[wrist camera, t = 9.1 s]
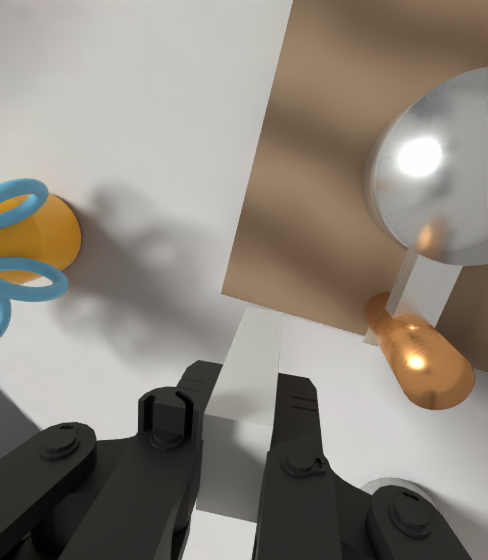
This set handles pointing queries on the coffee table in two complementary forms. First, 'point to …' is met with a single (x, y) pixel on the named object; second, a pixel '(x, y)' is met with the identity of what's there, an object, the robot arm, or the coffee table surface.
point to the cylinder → (33, 243)
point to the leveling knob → (430, 230)
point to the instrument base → (348, 161)
